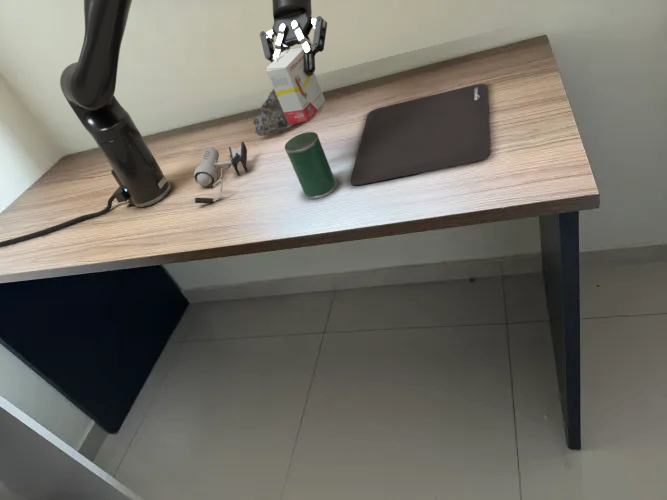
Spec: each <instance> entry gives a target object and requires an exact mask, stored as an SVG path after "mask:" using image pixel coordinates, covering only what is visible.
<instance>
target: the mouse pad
mask: <svg viewBox="0 0 667 500" xmlns="http://www.w3.org/2000/svg"><path fill="white" fill-rule="evenodd" d="M488 90H489V89H488V85H487V84H484V83H478V84H473V85H470V86H466V87H460V88H456V89H452V90H449V91H444V92H439V93H436V94H432V95H428V96H423V97H419V98H415V99H412V100H408V101H402V102H399V103H394V104H390V105H387V106H381V107H378V108H375V109H373V110H371V111H370V112H369V113H368V114H367V116H366V120H365V124H364V127H363V131H362V134H361V138H360V142H359V145H358V150H357V153H356V157H355V161H354V165H353V168H352V172H351V176H350V180H349V181H350V184H351V185H352V186H362V185H369V184H372V183H379V182H383V181H388V180H393V179H399V178H403V177H408V176H414V175H419V174H423V173H428V172H433V171H438V170H439V171H440V170H443V169H448V168H453V167H458V166H464V165H467V164H473V163H478V162H481V161H484V160H486V159H487V158H489V156H490V154H491V141H490V140H491V139H490V116H489V115H490V112H489V91H488Z"/></svg>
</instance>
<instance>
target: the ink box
mask: <svg viewBox="0 0 667 500" xmlns="http://www.w3.org/2000/svg"><path fill="white" fill-rule="evenodd" d="M304 54H306V52H305V51H304V49H303V47H296V48H290V49H288V50H285V51H283V52H282V53H281V54H280V55H279V56H278V57H277V58H276V59H275V60H274V61H273V62H270V64H268V66H267V67H266V74H267V76H268V78H269V82H270V83H271V85H272V87H273V89H274V90H275V93H276V95H277V97H278V100H279V102H280V104H281V107H282V109H283V112H284V114H285V116H286V119H287V121H288V123H289V124H295V123H297V124H303V123H308V122H310V121H312V119H313V117H314V116H315V114H317V112H318V111H319V109H321V107H322V105H323V104H324V103H325V102H326V99H325V96H324V93H323V91H322V89H321V86H320V83H319V81H318V79H317V78H318V77H317V76H316V73H315V71H314V72H313V75H311V76H308V75H307V74H306V73H305V67H304ZM295 125H296V124H295Z"/></svg>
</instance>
